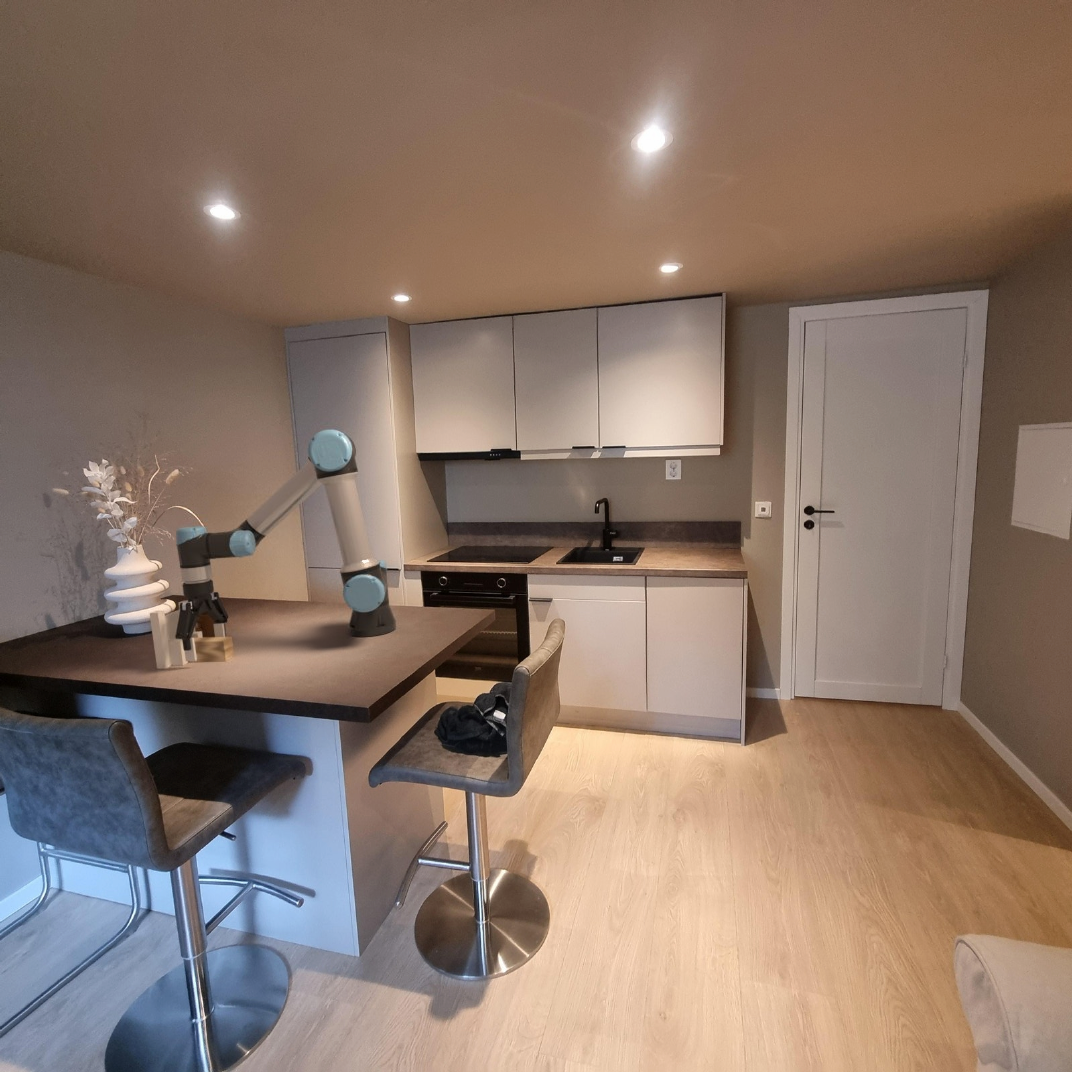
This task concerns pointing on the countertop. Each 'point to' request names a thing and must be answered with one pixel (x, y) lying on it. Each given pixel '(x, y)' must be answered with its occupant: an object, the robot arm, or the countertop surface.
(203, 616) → the mug
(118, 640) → the countertop surface
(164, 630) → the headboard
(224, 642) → the wooden block
